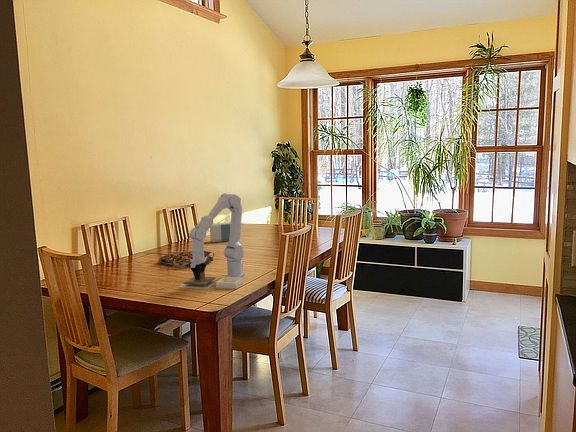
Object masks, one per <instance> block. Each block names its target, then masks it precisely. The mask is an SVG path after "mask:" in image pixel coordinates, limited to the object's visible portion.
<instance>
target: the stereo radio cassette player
mask: <svg viewBox="0 0 576 432" xmlns="http://www.w3.org/2000/svg"><path fill="white" fill-rule="evenodd" d="M230 217H231V214H230V215H229V216H227V217H225V218H224V219H222V220H220V221H218V222H216V223H213V224H212V225H211V227H210V228H209V236H210V241H211V242H212V243H219V242H229V237H230V224H231V221H230V222H223V221H224V220H226V219H228V218H230Z"/></svg>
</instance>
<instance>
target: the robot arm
mask: <svg viewBox="0 0 576 432" xmlns="http://www.w3.org/2000/svg"><path fill="white" fill-rule="evenodd" d="M241 199H242V198H241V197H240V196H239V195H238V194H235V193H233V194H232V193H222V194H221V195H220V196H219V197H218V199H217V202H216V203H215V205H214V206H213V208H212V209H211V210H210V212H209V213H208V214H207V215H204V216H202V217H200V221H199V222H198V223H197V224H196V225H195V227H192V229H190V232H189V234H188V236H189V237H190V239H191V251H192V255H193V260H191V262H192V263H191V266H190V270H191V271H192V273H193V277H195V280H200V272H205V270H206V267H207V266H208V264H207V263H204V262H205V261H206V257H204V250H205V245H204V244H205V241H204V239H205V238H206V237H207V233H208V231H209V230H210V227H211V225H212V224H214V220H215V218H217V216H218V215H219V214H221V212H222V211H223V210H224V209H228V210H229V211H230V215H231V216H230V222H231V224H230V237H229V241H227V243H226V245H225V249H224V251H223V254H224V257H225V258H226V264H227V265H226V266H227V267H226V269H227V275H225V276H224V277H233V278H242V277H243V276H244V275H245V272H244V263H243V260H242V259H243V257H244V254H245V253H244V250H243V245H242V244H241V229H242V228H241V227H242V216H243V207H242V203H241V201H242V200H241Z"/></svg>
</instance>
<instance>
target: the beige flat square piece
mask: <svg viewBox="0 0 576 432" xmlns="http://www.w3.org/2000/svg"><path fill="white" fill-rule="evenodd" d="M217 281H218V280H215V279H214V280H213V281H211V282H210V283H208V284H207V285H197V284H184V283H183V284H182V285H180V286H178V288H180V289H181V288H182V289H183V288H184V289H198V290H199V289H200V290H209V289H210V288H212V287H213V286H214V285H216V282H217Z"/></svg>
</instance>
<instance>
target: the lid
mask: <svg viewBox="0 0 576 432" xmlns="http://www.w3.org/2000/svg"><path fill="white" fill-rule="evenodd" d="M216 279H217V278H216V277H215V276H214V277H213V276H206V273H205V271H204V272H200V280H195V277H194V276H192V277H191V278H189V279H188V280H186V281H184V282H183V284H197V285H207V284H208V283H210V282H211V281H213V280H214V281H215V280H216Z"/></svg>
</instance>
